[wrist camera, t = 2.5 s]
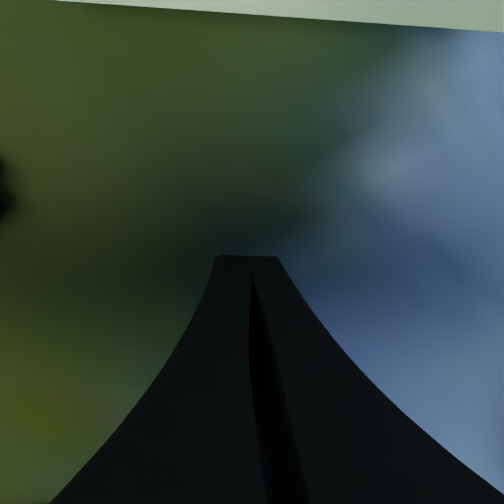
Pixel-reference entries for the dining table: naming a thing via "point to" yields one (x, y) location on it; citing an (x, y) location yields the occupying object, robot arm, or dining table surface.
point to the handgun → (2, 209)
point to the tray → (353, 10)
